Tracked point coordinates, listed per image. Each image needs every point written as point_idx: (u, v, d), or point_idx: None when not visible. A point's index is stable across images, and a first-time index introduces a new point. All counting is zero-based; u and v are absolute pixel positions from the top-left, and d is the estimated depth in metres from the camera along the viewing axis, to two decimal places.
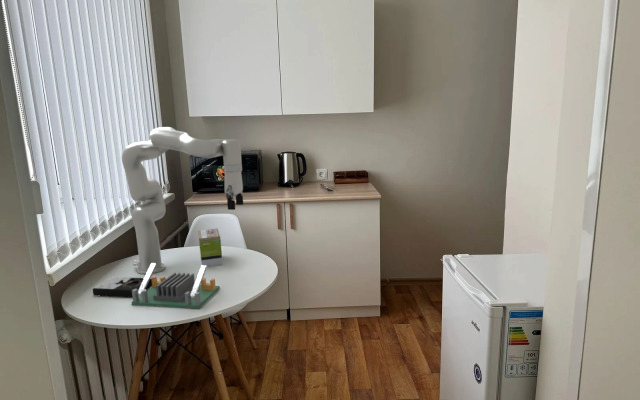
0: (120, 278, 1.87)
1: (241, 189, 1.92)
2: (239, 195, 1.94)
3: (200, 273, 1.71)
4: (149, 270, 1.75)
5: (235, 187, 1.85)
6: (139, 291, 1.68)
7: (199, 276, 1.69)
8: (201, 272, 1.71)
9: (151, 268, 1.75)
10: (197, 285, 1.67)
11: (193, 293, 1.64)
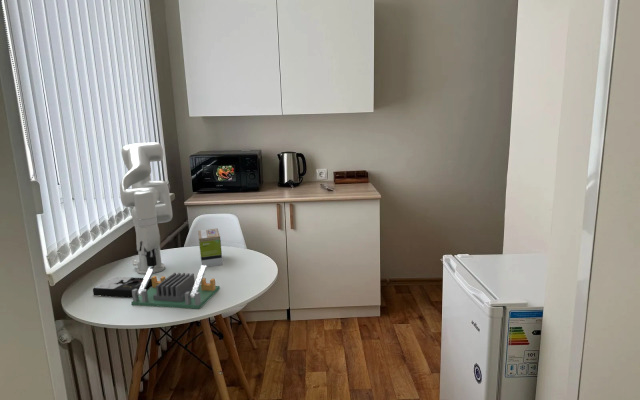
0: (120, 277, 1.88)
1: (158, 243, 1.77)
2: None
3: (200, 273, 1.71)
4: (149, 270, 1.75)
5: (148, 243, 1.70)
6: (139, 291, 1.68)
7: (199, 276, 1.69)
8: (201, 272, 1.71)
9: (151, 268, 1.75)
10: (197, 285, 1.67)
11: (193, 293, 1.64)
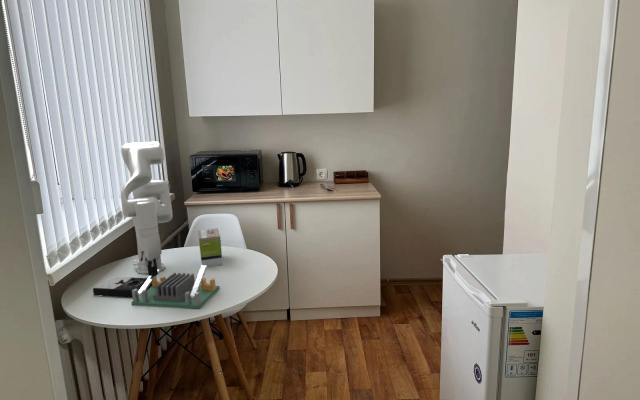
0: (120, 277, 1.88)
1: (159, 253, 1.77)
2: None
3: (200, 273, 1.71)
4: None
5: (149, 253, 1.70)
6: (139, 291, 1.69)
7: (199, 276, 1.69)
8: (201, 272, 1.71)
9: None
10: (197, 285, 1.67)
11: (193, 293, 1.64)
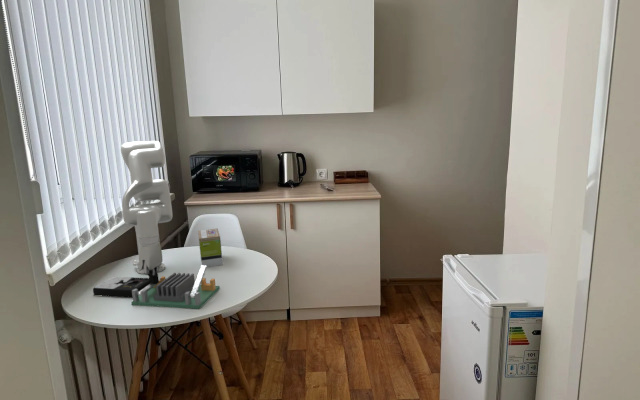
0: (120, 277, 1.88)
1: (160, 261, 1.78)
2: None
3: (200, 273, 1.71)
4: None
5: (150, 261, 1.71)
6: (140, 291, 1.69)
7: (199, 276, 1.69)
8: (201, 272, 1.71)
9: None
10: (197, 285, 1.67)
11: (193, 293, 1.64)
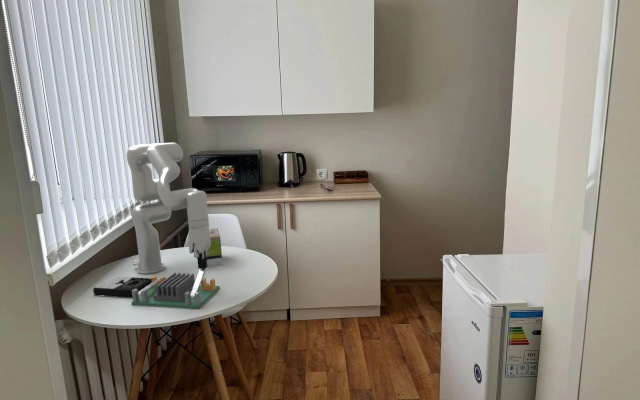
0: (121, 277, 1.88)
1: (209, 245, 1.72)
2: None
3: (200, 273, 1.71)
4: (154, 282, 1.78)
5: (200, 245, 1.66)
6: (140, 291, 1.69)
7: (199, 276, 1.69)
8: (201, 272, 1.71)
9: (156, 281, 1.79)
10: (197, 285, 1.67)
11: (193, 293, 1.64)
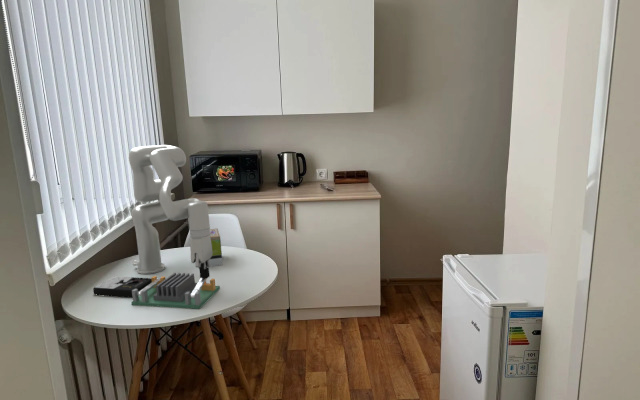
0: (121, 277, 1.88)
1: (210, 254, 1.73)
2: None
3: (202, 278, 1.72)
4: (154, 282, 1.78)
5: (202, 254, 1.66)
6: (140, 291, 1.69)
7: (201, 280, 1.71)
8: None
9: (156, 281, 1.79)
10: (198, 287, 1.68)
11: (193, 293, 1.65)
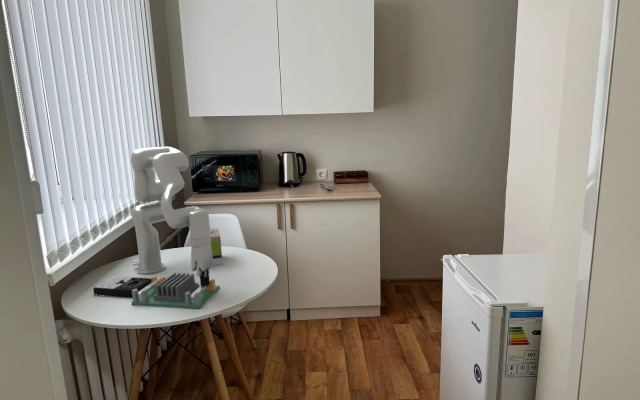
0: (121, 277, 1.88)
1: (211, 262, 1.74)
2: None
3: None
4: (154, 282, 1.78)
5: (203, 263, 1.67)
6: (140, 291, 1.69)
7: (202, 286, 1.72)
8: None
9: (156, 281, 1.79)
10: (199, 290, 1.68)
11: (194, 294, 1.65)
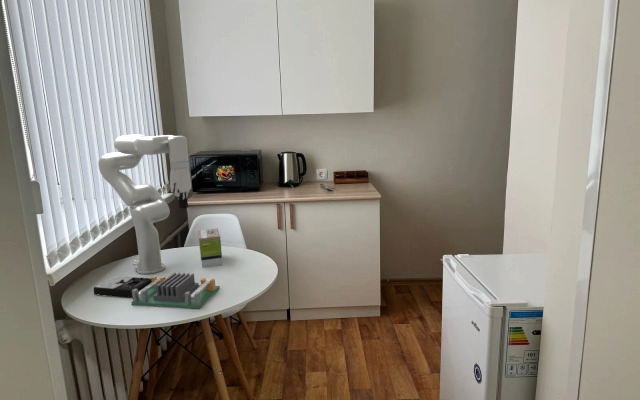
0: (122, 277, 1.88)
1: (189, 187, 1.88)
2: None
3: (204, 284, 1.74)
4: (154, 282, 1.78)
5: (181, 185, 1.81)
6: (140, 291, 1.69)
7: (202, 286, 1.72)
8: (205, 284, 1.74)
9: (156, 281, 1.79)
10: (199, 290, 1.68)
11: (194, 294, 1.65)
